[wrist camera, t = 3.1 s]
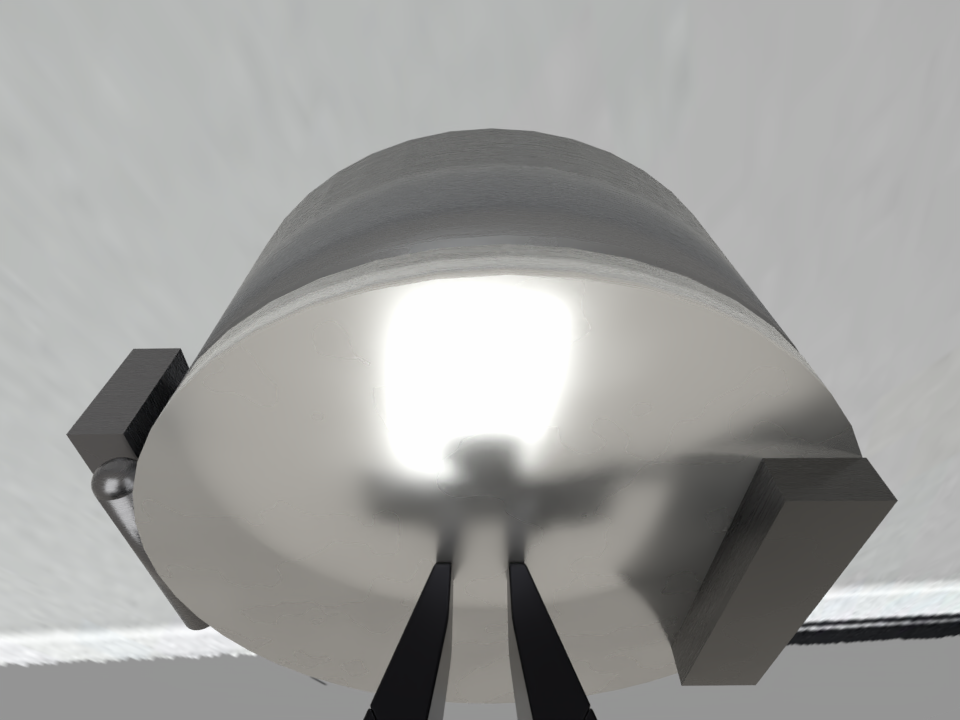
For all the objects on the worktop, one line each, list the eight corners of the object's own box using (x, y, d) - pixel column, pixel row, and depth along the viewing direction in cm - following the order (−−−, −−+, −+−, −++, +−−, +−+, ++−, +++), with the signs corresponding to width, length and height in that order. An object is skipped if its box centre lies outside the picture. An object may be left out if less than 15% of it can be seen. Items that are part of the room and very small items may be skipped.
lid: (1003, 242, 9) (1118, 312, 7) (724, 669, 19) (746, 736, 17) (-31, 245, 9) (-141, 316, 7) (242, 672, 19) (221, 741, 17)
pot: (809, 126, 14) (986, 232, 9) (671, 512, 24) (720, 657, 19) (119, 129, 14) (-67, 240, 9) (272, 518, 24) (224, 667, 19)
